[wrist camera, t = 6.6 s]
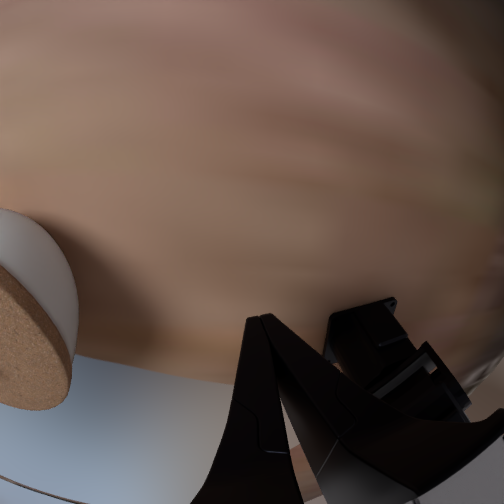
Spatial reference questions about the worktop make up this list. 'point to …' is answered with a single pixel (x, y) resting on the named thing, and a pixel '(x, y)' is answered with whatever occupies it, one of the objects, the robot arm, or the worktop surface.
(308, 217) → the worktop surface
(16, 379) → the lidded jar
